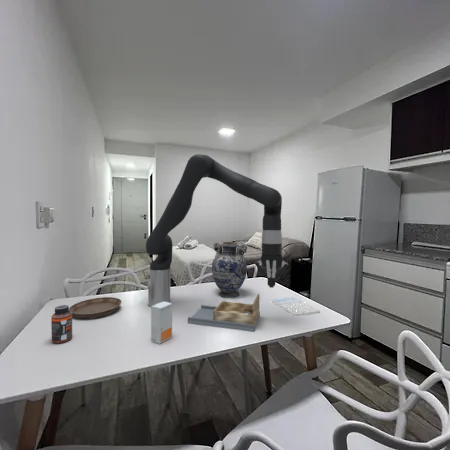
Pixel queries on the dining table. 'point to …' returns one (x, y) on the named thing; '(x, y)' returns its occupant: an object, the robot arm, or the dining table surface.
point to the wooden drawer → (236, 312)
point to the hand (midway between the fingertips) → (271, 287)
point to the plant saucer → (95, 307)
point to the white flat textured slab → (295, 306)
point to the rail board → (206, 318)
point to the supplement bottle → (61, 324)
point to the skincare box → (161, 322)
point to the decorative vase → (229, 268)
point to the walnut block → (249, 309)
